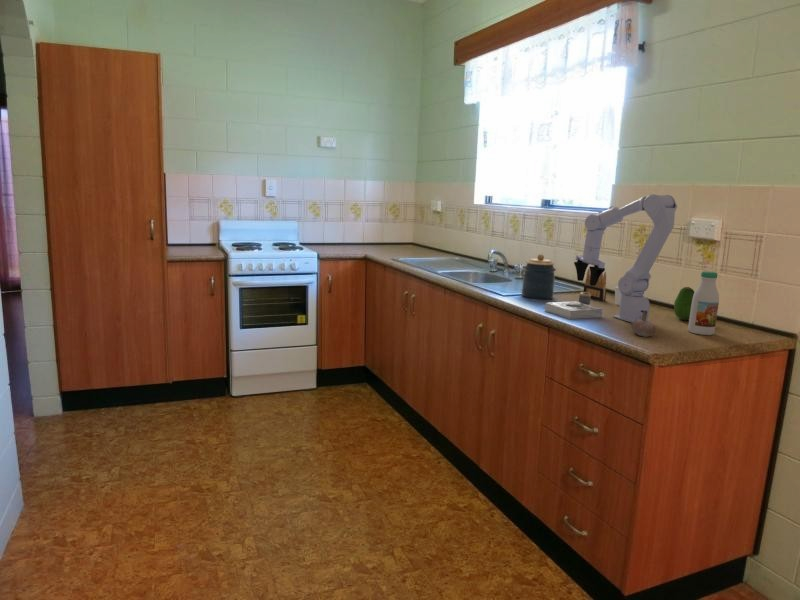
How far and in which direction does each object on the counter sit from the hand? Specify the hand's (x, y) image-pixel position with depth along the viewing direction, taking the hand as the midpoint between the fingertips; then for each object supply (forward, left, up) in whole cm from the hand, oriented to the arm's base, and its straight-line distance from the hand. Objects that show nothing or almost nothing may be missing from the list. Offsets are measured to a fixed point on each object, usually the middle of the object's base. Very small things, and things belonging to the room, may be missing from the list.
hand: (586, 282), depth 221 cm
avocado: (-25, -24, -10) cm, 36 cm away
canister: (+25, +3, -10) cm, 27 cm away
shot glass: (+3, -22, -10) cm, 24 cm away
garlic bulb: (-38, +9, -10) cm, 41 cm away
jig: (-7, +11, -10) cm, 17 cm away
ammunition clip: (+16, -19, -10) cm, 27 cm away
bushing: (0, 0, -10) cm, 10 cm away
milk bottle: (-41, -13, -10) cm, 44 cm away
